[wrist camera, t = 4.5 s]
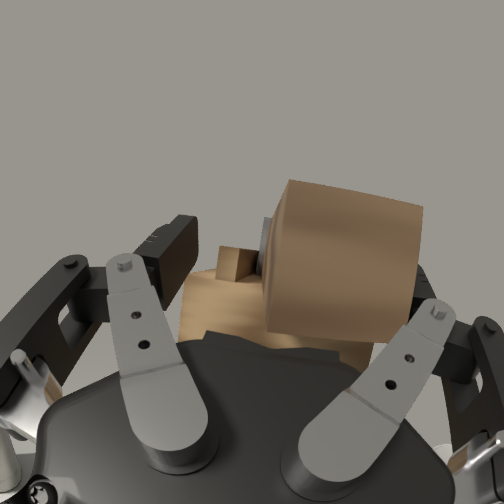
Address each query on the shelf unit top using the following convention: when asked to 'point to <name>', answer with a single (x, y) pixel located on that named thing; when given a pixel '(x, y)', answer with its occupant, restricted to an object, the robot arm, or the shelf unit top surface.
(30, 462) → the shelf unit top surface
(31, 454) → the shelf unit top surface
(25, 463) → the shelf unit top surface
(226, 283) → the post
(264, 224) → the lever bar
